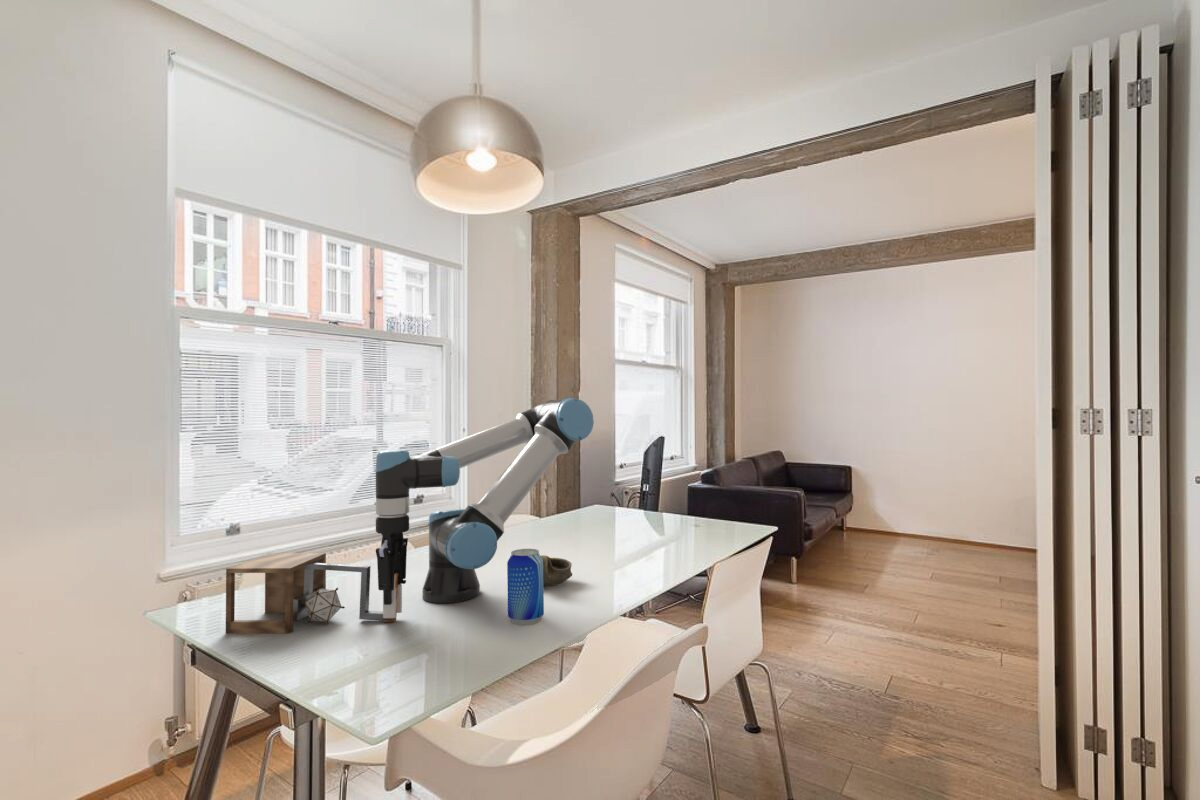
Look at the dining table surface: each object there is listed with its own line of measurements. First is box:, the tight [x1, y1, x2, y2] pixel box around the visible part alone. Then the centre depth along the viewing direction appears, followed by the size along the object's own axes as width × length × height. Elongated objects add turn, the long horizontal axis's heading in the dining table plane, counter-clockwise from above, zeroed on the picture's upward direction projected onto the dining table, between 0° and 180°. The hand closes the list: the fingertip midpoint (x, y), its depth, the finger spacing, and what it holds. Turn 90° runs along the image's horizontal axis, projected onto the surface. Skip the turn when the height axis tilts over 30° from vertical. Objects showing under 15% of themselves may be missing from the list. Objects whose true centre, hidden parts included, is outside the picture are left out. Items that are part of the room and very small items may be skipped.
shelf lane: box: [225, 552, 327, 634], centre depth 139 cm, size 15×15×14 cm
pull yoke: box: [293, 562, 398, 623], centre depth 139 cm, size 23×10×12 cm, turn 83°
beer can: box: [506, 548, 545, 626], centre depth 137 cm, size 8×8×16 cm
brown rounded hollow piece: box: [540, 554, 573, 587], centre depth 166 cm, size 14×18×10 cm
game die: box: [300, 586, 346, 626], centre depth 138 cm, size 9×8×10 cm
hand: (392, 614), depth 137 cm, fingers closed on pull yoke, 3 cm apart
